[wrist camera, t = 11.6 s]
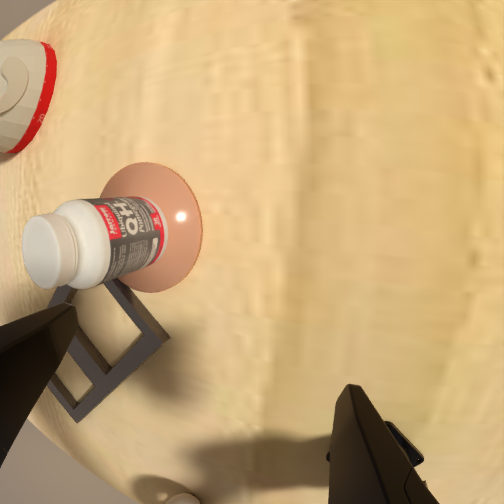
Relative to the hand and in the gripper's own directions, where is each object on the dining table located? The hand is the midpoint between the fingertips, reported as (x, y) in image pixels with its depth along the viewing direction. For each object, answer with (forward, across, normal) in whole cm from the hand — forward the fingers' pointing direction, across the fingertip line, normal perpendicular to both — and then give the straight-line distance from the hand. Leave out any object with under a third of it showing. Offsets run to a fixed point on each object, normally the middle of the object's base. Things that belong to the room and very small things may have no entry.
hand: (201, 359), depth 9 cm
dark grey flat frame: (+12, +15, +18) cm, 26 cm away
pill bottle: (+14, +8, +4) cm, 16 cm away
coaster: (+14, +8, +3) cm, 17 cm away
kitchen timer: (+21, +31, -6) cm, 38 cm away
